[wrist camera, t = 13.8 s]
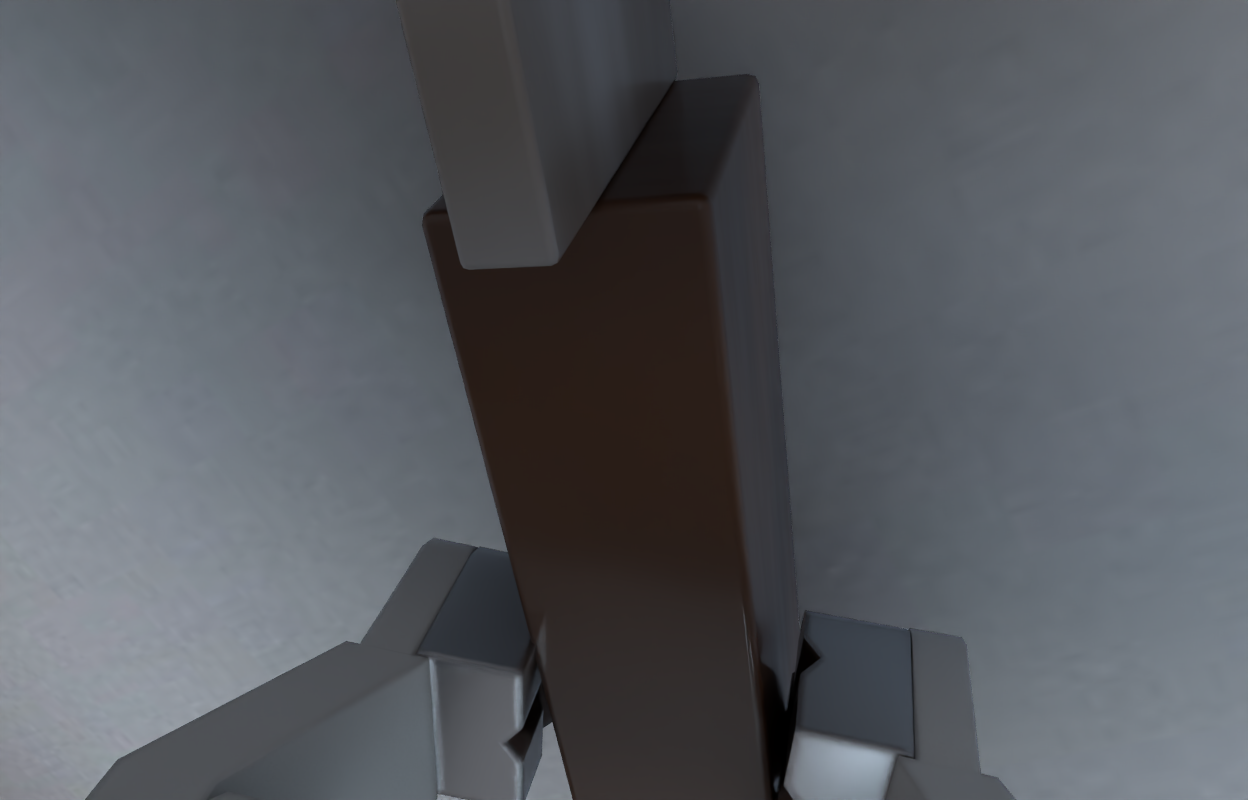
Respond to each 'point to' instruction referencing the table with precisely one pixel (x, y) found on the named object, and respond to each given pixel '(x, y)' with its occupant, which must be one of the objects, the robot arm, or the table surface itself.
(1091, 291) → the table surface
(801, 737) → the robot arm
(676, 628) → the cake knife
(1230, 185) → the table surface
